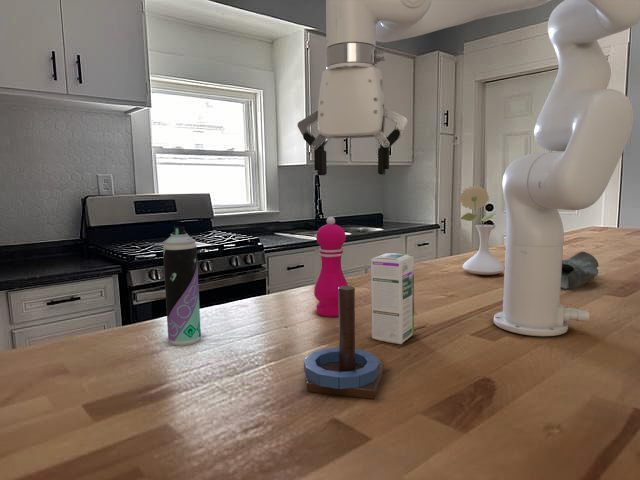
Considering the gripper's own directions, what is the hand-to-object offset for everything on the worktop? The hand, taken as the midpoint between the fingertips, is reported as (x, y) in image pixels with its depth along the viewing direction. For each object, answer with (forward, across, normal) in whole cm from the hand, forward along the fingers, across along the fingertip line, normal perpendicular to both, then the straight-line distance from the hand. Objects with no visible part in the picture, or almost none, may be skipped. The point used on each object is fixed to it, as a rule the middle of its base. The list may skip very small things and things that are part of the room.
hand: (351, 174), depth 73 cm
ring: (+27, -1, +13) cm, 30 cm away
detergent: (+28, -47, -60) cm, 82 cm away
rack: (+28, -2, +13) cm, 31 cm away
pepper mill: (+28, +8, -18) cm, 35 cm away
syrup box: (+28, -6, -6) cm, 30 cm away
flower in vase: (+28, -24, -65) cm, 75 cm away
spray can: (+28, +29, +4) cm, 41 cm away
